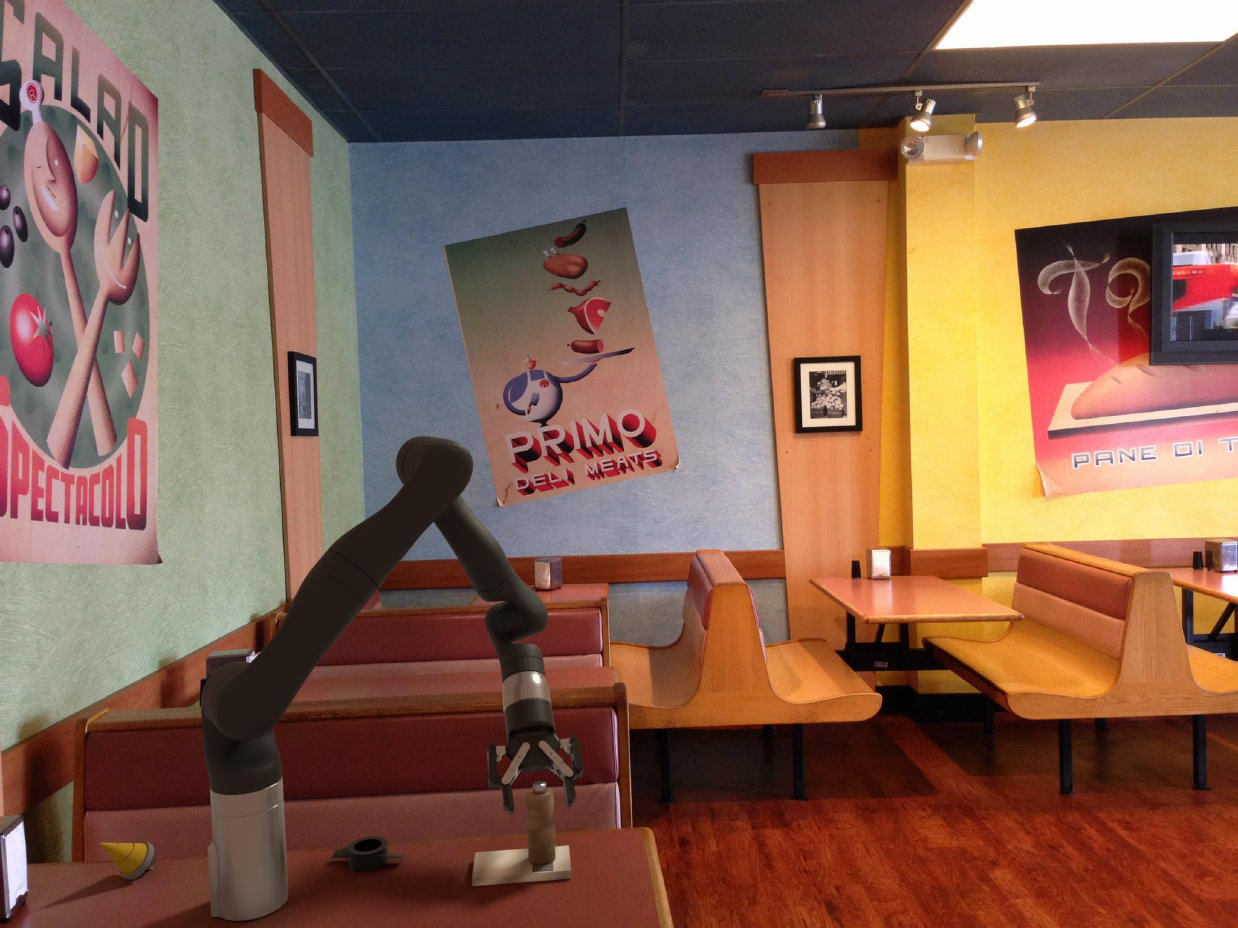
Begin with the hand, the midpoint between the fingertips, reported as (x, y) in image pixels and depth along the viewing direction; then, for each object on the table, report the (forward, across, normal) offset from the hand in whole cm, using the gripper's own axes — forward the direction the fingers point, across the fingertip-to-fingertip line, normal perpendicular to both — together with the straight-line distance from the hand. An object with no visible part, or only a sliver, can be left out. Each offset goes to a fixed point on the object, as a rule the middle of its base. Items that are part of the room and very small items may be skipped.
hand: (540, 808), depth 134 cm
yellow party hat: (-4, -59, +17) cm, 61 cm away
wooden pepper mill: (+5, 0, +6) cm, 8 cm away
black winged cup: (0, -25, +13) cm, 28 cm away
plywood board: (+6, -3, +7) cm, 9 cm away
